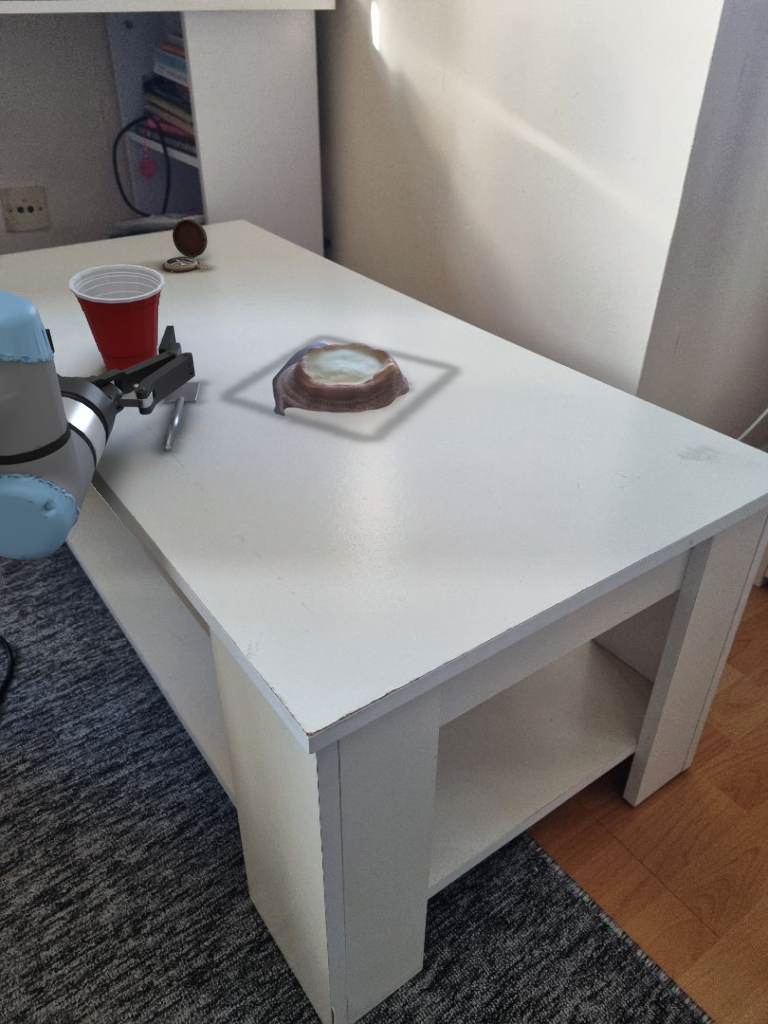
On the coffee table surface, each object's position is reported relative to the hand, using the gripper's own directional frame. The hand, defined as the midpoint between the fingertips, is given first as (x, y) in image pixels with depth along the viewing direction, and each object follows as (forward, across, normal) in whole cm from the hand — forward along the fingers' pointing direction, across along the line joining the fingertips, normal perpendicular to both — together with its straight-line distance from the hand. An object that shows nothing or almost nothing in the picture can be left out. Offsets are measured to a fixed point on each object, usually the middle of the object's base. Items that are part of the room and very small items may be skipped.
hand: (110, 338), depth 90 cm
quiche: (+1, +26, -8) cm, 27 cm away
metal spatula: (-6, +7, -8) cm, 12 cm away
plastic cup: (+8, 0, -8) cm, 11 cm away
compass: (+48, +2, -8) cm, 48 cm away
